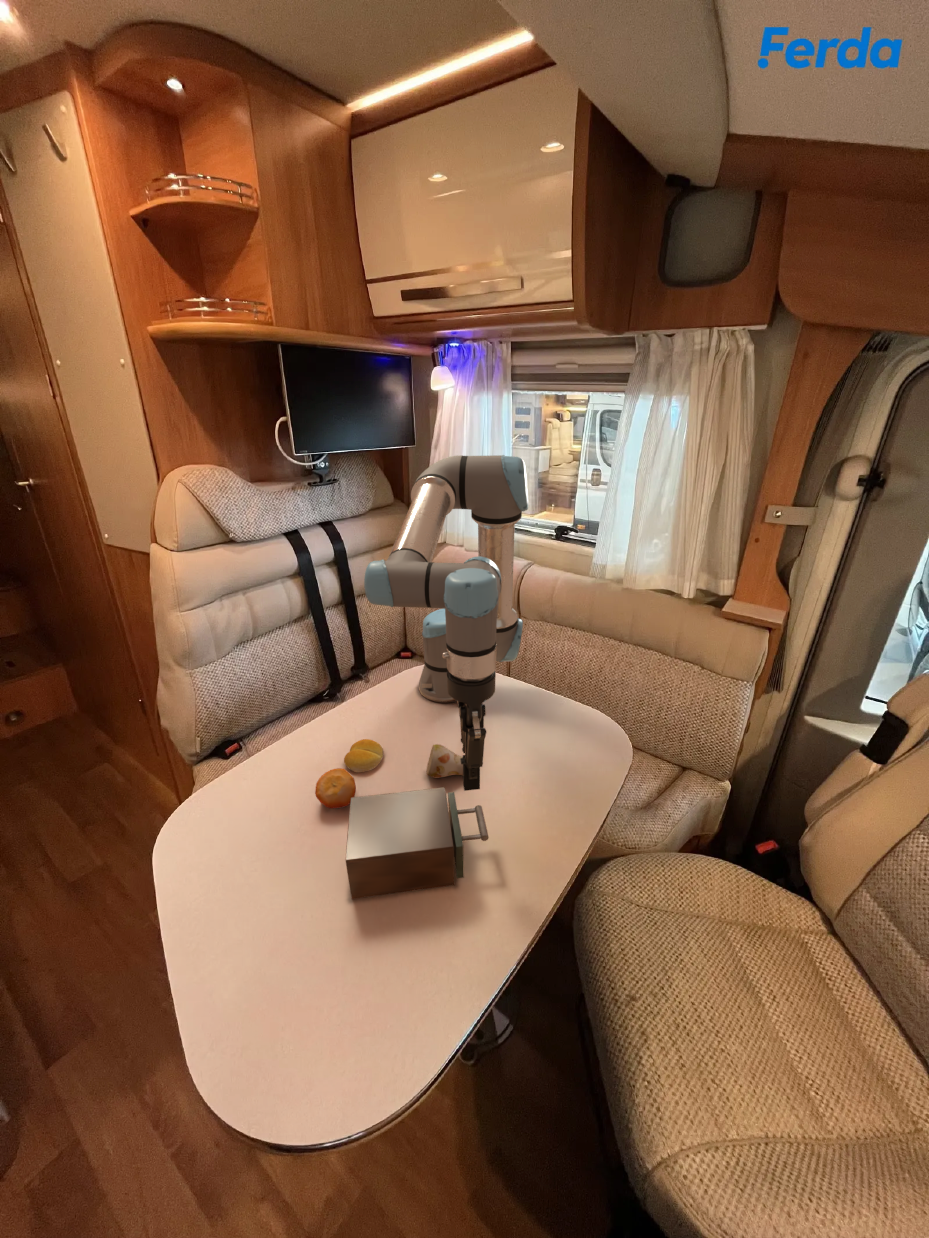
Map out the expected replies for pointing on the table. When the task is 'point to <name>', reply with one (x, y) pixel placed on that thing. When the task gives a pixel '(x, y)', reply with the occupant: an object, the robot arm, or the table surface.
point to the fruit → (335, 788)
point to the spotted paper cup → (443, 762)
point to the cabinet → (399, 843)
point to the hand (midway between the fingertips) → (471, 786)
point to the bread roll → (363, 755)
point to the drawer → (457, 832)
